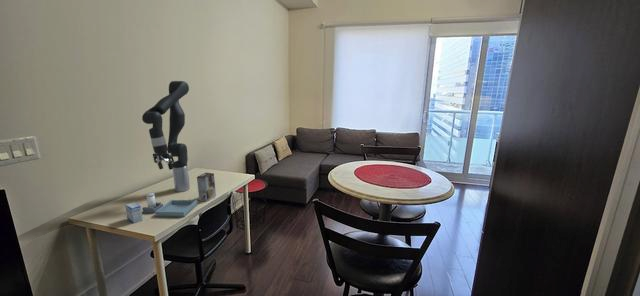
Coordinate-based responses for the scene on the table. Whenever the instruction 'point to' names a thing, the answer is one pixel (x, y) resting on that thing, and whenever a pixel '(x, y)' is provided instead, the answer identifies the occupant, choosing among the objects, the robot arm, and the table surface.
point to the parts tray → (176, 208)
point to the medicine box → (134, 212)
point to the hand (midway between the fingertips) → (166, 169)
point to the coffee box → (206, 186)
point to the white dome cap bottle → (151, 200)
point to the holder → (152, 208)
